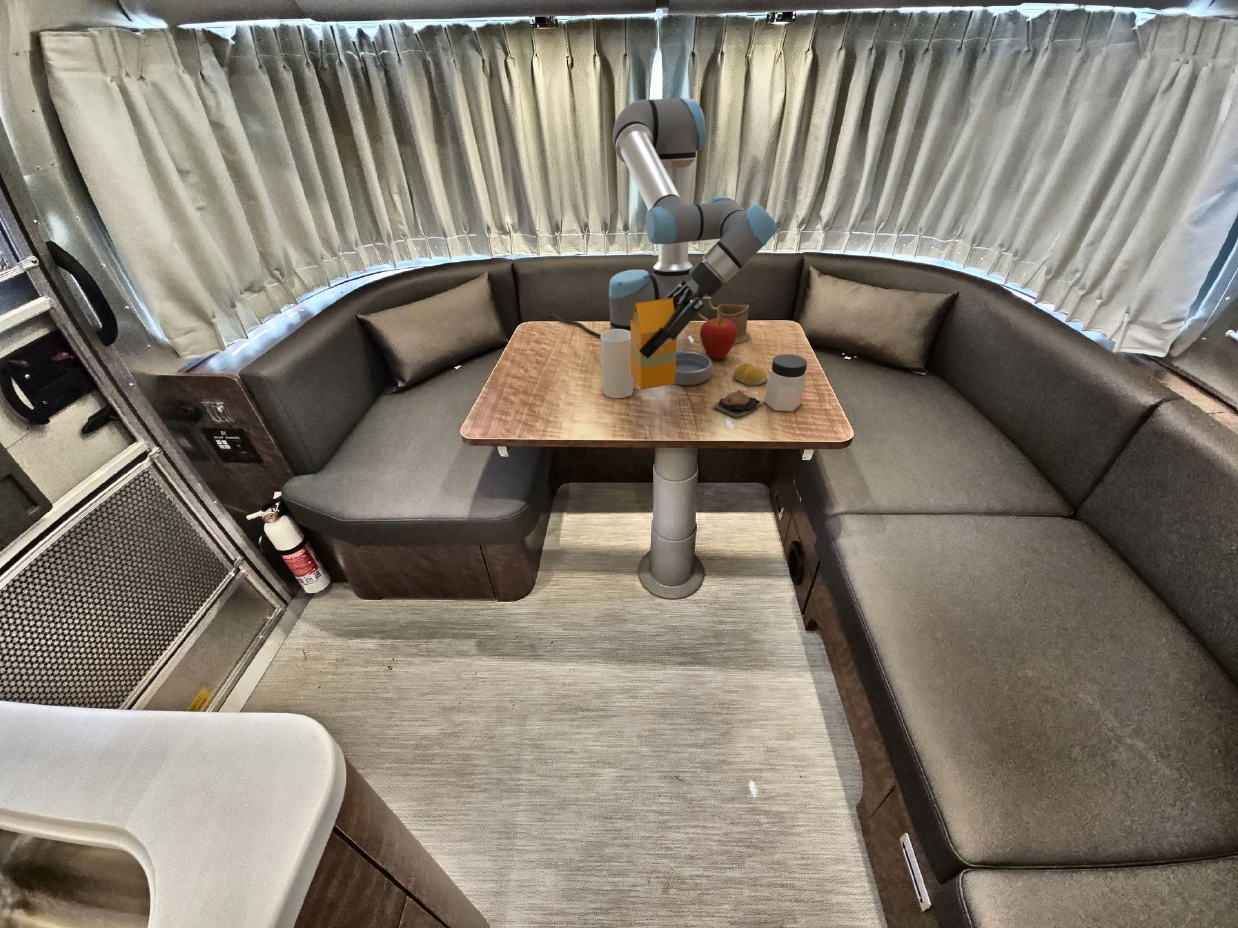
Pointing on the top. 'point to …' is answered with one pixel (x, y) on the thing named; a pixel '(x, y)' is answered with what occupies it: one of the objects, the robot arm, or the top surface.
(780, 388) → the jar
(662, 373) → the orange juice
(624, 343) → the cup
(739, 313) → the mug
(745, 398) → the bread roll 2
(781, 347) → the top surface
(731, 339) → the apple
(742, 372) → the bread roll
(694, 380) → the pan
